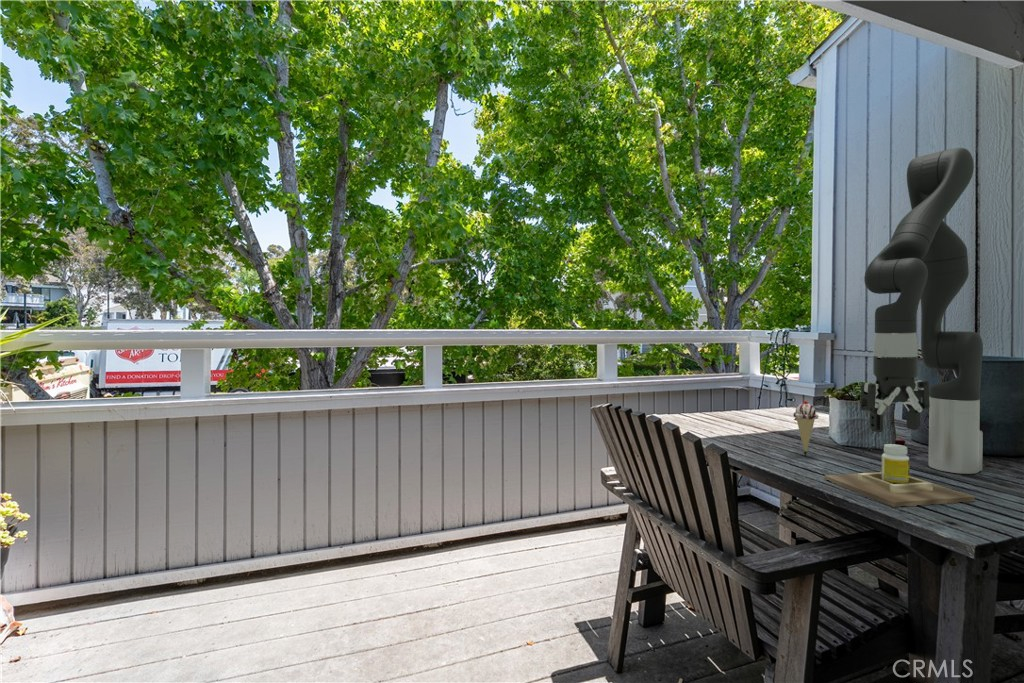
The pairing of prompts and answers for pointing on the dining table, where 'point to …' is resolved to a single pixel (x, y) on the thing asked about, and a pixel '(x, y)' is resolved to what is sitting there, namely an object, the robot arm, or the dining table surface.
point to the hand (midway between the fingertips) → (894, 430)
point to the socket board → (899, 490)
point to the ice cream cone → (805, 422)
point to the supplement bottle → (895, 464)
